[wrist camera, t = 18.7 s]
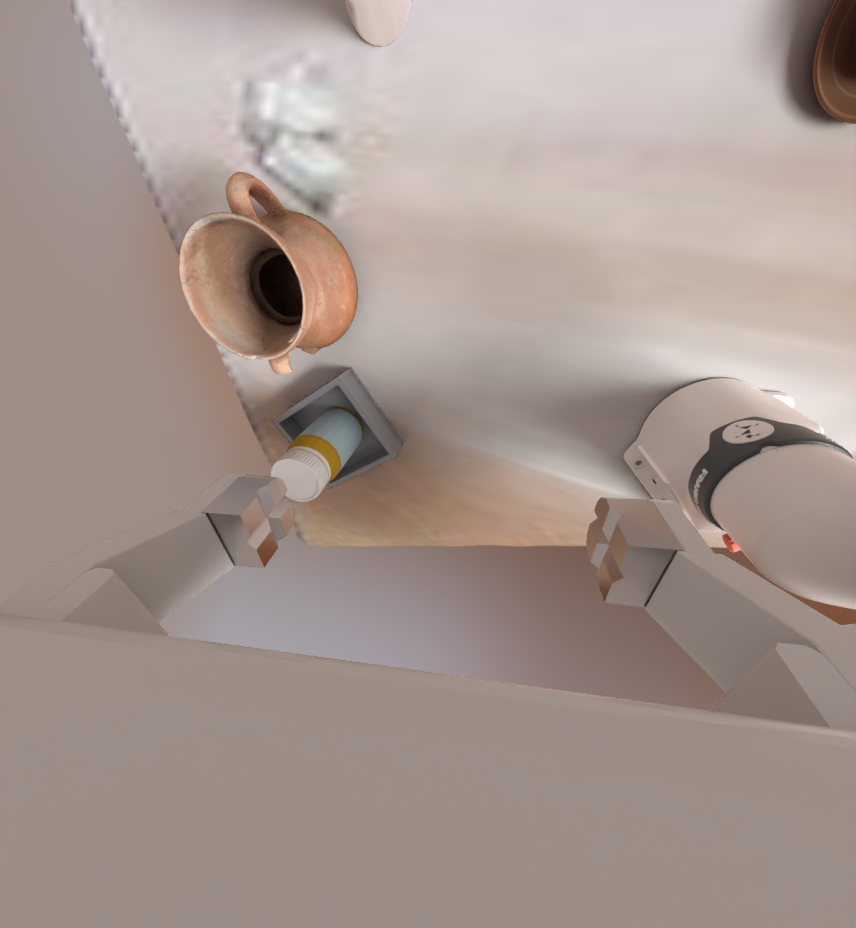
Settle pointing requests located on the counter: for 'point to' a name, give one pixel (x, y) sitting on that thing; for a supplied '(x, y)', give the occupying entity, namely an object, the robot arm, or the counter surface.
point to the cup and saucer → (837, 62)
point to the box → (354, 397)
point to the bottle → (318, 454)
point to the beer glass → (378, 19)
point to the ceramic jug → (266, 278)
